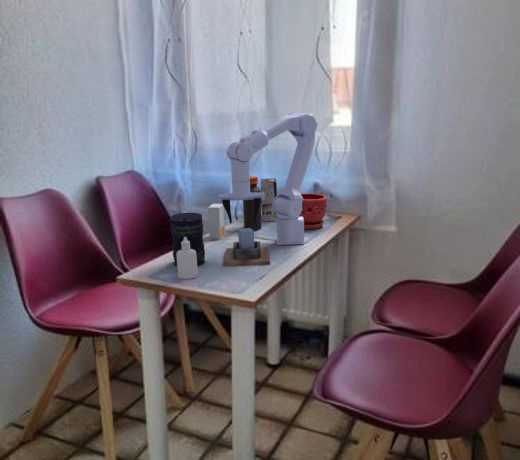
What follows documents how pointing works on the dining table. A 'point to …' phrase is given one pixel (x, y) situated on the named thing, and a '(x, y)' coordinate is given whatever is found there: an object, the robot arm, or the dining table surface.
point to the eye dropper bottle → (186, 261)
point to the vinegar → (249, 208)
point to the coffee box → (268, 199)
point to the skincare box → (216, 221)
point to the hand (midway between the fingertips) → (242, 221)
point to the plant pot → (313, 210)
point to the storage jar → (188, 234)
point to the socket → (247, 255)
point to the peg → (246, 238)
